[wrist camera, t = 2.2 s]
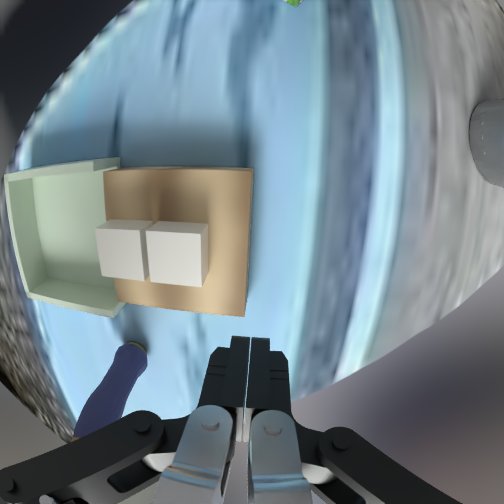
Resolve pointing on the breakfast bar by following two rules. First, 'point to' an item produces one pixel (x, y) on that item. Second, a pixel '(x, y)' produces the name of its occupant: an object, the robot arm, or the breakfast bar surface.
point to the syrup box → (293, 2)
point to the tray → (62, 234)
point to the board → (193, 211)
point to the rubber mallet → (111, 391)
